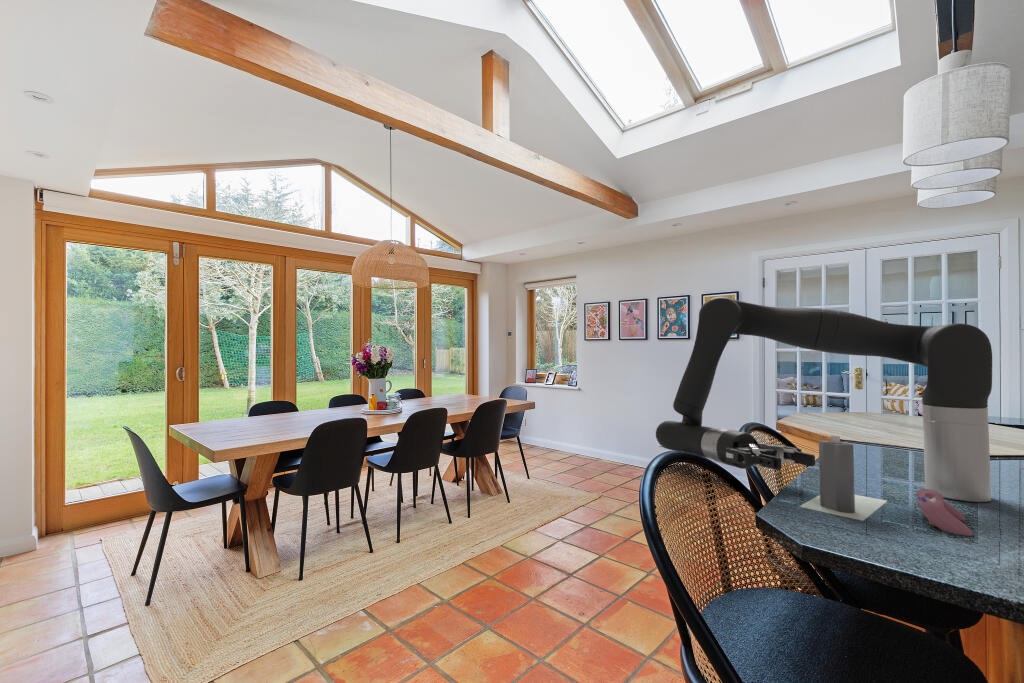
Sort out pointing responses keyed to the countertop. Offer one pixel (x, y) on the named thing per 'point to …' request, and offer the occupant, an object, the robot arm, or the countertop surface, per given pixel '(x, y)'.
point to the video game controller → (941, 513)
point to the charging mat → (862, 507)
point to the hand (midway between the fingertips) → (797, 462)
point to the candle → (836, 475)
